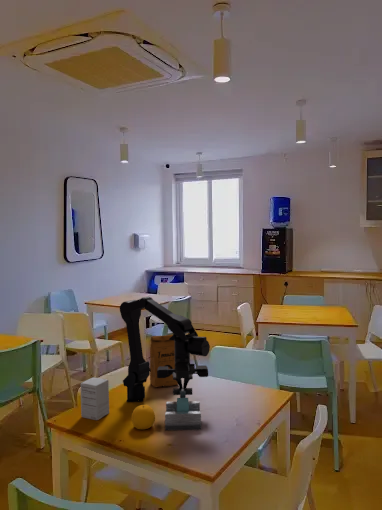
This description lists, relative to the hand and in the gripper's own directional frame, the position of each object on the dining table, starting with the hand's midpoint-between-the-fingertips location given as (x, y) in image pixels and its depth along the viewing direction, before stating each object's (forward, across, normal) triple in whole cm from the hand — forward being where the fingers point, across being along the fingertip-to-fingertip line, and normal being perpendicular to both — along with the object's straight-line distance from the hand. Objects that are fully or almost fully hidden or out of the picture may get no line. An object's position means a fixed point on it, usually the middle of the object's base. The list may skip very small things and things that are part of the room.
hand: (183, 394), depth 159 cm
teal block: (+5, 0, -10) cm, 11 cm away
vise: (+6, 0, -7) cm, 10 cm away
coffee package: (+6, -8, +30) cm, 31 cm away
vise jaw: (+4, 0, -4) cm, 6 cm away
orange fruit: (+6, -14, -13) cm, 20 cm away
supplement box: (+6, -32, -2) cm, 33 cm away
